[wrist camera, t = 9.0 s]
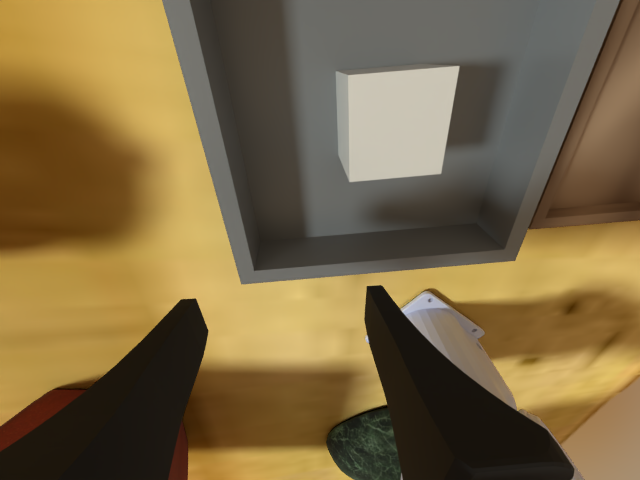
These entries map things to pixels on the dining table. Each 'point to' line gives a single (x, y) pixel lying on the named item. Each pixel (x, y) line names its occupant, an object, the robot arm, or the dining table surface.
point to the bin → (322, 132)
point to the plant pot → (59, 399)
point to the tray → (601, 138)
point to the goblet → (366, 447)
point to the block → (394, 120)
